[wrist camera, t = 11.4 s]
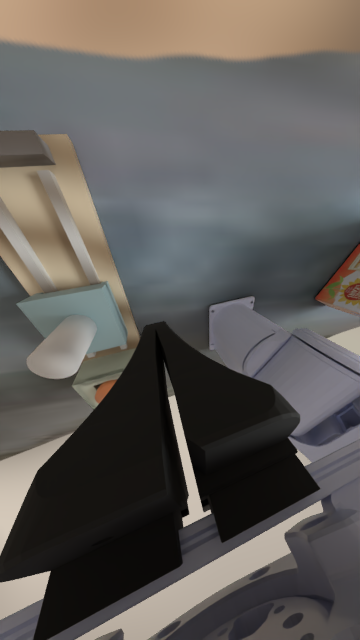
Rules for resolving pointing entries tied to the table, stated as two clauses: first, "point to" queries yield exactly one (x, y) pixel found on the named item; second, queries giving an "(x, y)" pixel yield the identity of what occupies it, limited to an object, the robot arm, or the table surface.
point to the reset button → (103, 390)
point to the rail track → (54, 223)
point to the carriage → (72, 327)
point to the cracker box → (344, 286)
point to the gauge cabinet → (100, 374)
